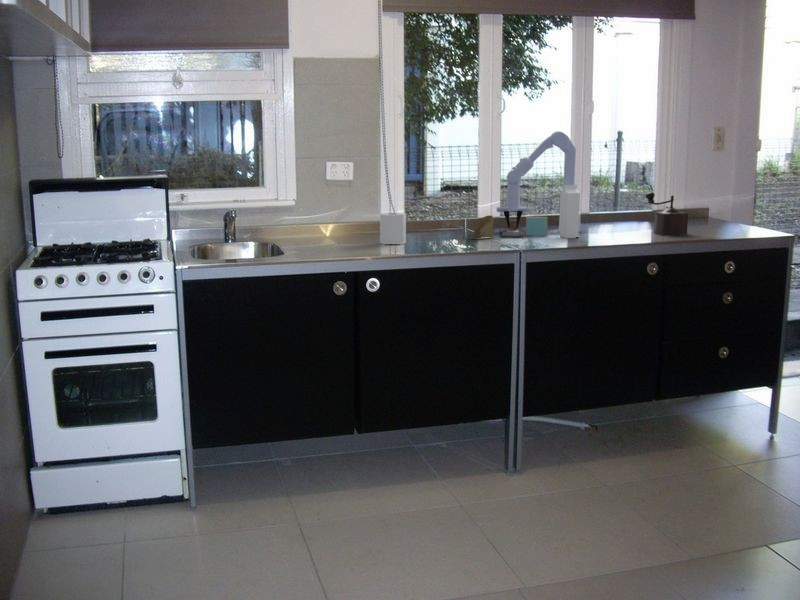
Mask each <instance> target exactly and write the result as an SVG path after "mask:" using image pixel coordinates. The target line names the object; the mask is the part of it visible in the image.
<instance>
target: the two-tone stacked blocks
mask: <svg viewBox="0 0 800 600" xmlns="http://www.w3.org/2000/svg"><path fill="white" fill-rule="evenodd" d="M516 223H517V219H509V228H508V230H506V232H519V230H518V229H517V228H516Z"/></svg>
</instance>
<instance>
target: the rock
mask: <svg viewBox="0 0 800 600" xmlns="http://www.w3.org/2000/svg"><path fill="white" fill-rule="evenodd" d="M493 226H494V218H493V215H492V214H491V215H489V214H488V215H486V216H484V217H482V218H480V219H479V222H478V224H477V226H476V227H475V228H474V230H473V234H472V237H471V239H472V240H477V239H476V238H481V237H493V238H494V230H493V229H494V228H493Z"/></svg>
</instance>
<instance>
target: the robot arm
mask: <svg viewBox="0 0 800 600" xmlns="http://www.w3.org/2000/svg"><path fill="white" fill-rule="evenodd" d="M554 147H556V148H558V149H560V150H561V151H562V152H563V153H564V159H563V161H564V162H563V184H562V185H563V188H562V190H563V189H564V185H575V176H576V174H575V173H576V155H577V154H576V153H577V152H576V150H577V149H576V147H575V145H574V143H573V142H572V141H571V139H570V137H569V136H568V135H567V134H566V133H564V132H563V131H554V132H553V133H552V134H551V135H549V136H548V137H546V138H545V139H544V140H542V142H541V143H540V144H539V145H538V146H537V147H536V148H535V149H534V150H533V152H532V153H531V154H530V155H528V156H524V157H523V158H520V159H519V162H518V163H517V164H516V165H515V166H512V167H511V169H512V170H510V171H509V172H508V173H507V176H506V179H507V187H506V206H505V207H504V206H503V207H501V206H500V207H498V206H496V213H501V212H502V213H503V215H504V218H505V220H506V225H507V229H509V221H510V213H516V220H517V221H516V229H519V223H520V220H521V217H522V215H523V213H530V209H531V207H525V206H523V207H522V206H520V205H521V202H520V201H521V200H520V199H521V186H520V182H521V179H522V177H524V176H525V175H527V174H528V172H529V171H531V169H532V168H533V167H534V162H535V161H536V160H537V159H538V158H539V157H540V156H541V155H543V153H545V152H546V151H547V150H549V149H551V148H552V149H553V148H554ZM581 213H582V212H581V211H580V214H579V233H581V228H582V224H581V222H582V221H581V219H582V217H581ZM558 217H559V218H558V219H559V222H558V223H559V224H558V225H559V226H558V228H557V231H558V233H559V227H560V215H559V216H558Z"/></svg>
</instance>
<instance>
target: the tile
mask: <svg viewBox="0 0 800 600" xmlns="http://www.w3.org/2000/svg"><path fill="white" fill-rule="evenodd" d="M526 235H538V236H537V237H548V216H526V217H525V236H526Z"/></svg>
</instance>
